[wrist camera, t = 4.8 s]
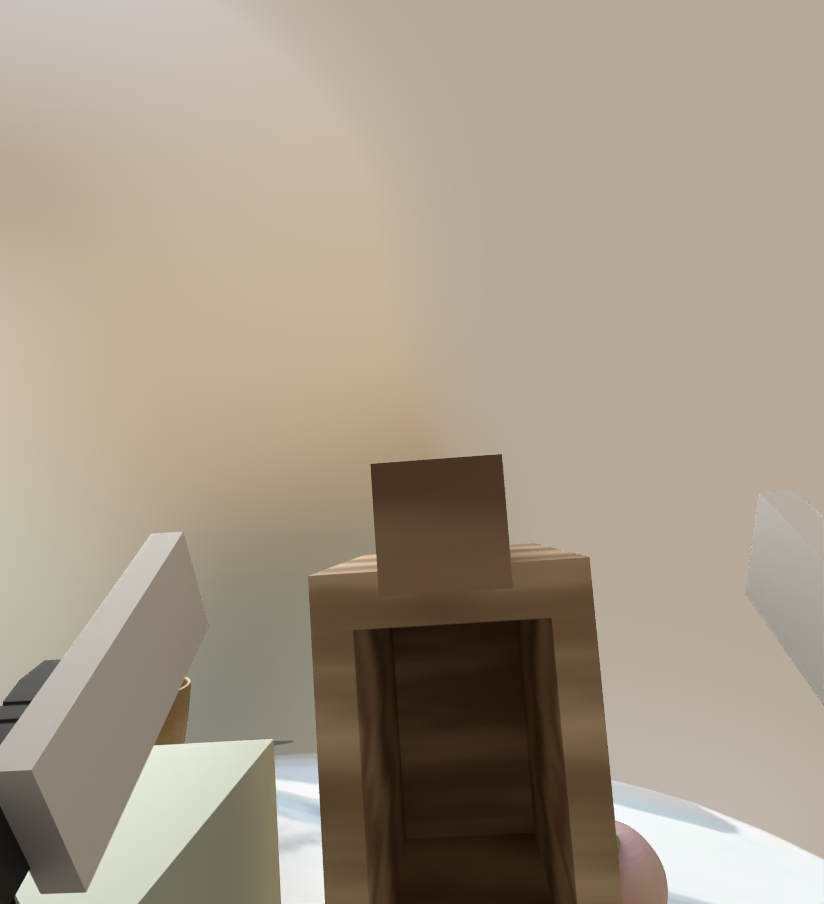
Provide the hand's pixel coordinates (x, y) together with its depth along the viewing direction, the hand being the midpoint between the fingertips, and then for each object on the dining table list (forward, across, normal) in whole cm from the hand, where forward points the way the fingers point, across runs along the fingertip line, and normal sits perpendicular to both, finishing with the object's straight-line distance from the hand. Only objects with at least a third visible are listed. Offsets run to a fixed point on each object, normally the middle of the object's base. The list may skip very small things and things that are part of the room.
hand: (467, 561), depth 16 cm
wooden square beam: (+10, -1, -6) cm, 11 cm away
